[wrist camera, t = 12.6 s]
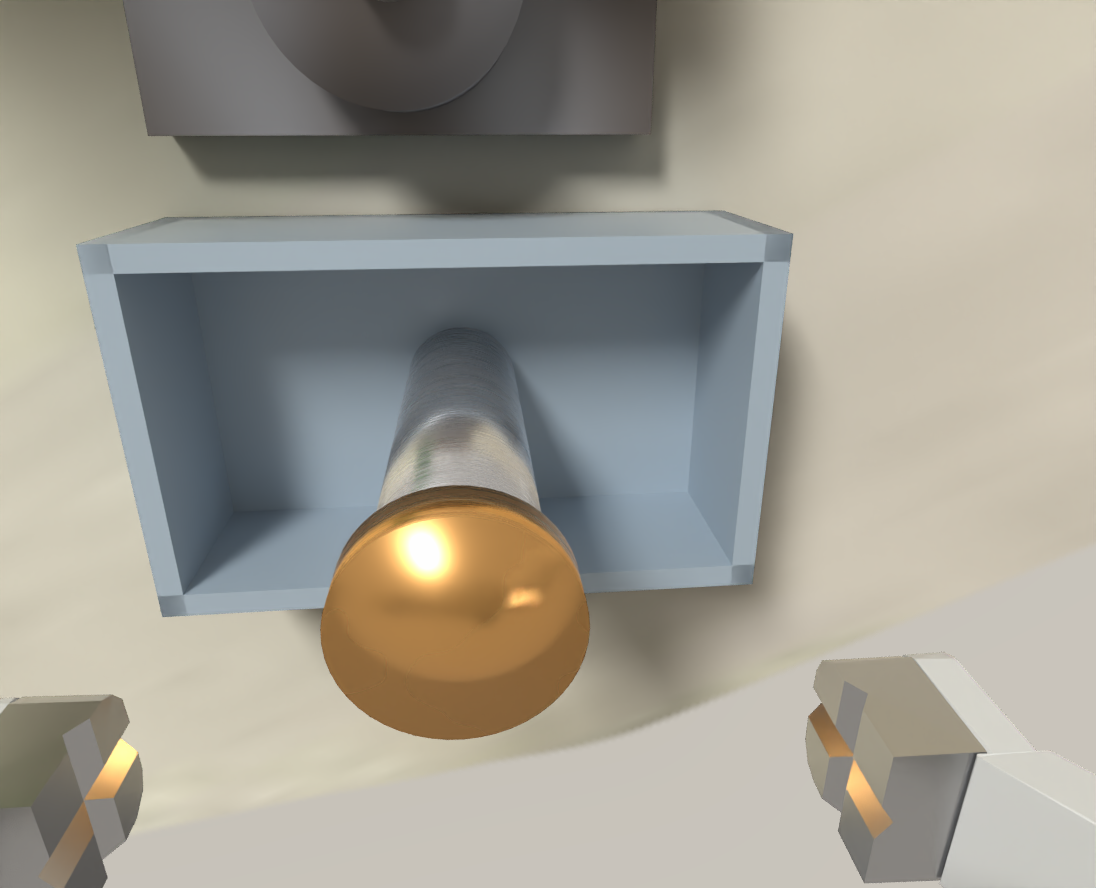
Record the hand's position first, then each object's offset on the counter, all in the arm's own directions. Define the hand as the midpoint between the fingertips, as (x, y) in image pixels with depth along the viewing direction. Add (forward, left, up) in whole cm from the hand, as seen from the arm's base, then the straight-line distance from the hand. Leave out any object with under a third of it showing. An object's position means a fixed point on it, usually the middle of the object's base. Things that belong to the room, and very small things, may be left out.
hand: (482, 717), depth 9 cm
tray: (0, 0, -15) cm, 15 cm away
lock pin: (0, 0, -14) cm, 14 cm away
